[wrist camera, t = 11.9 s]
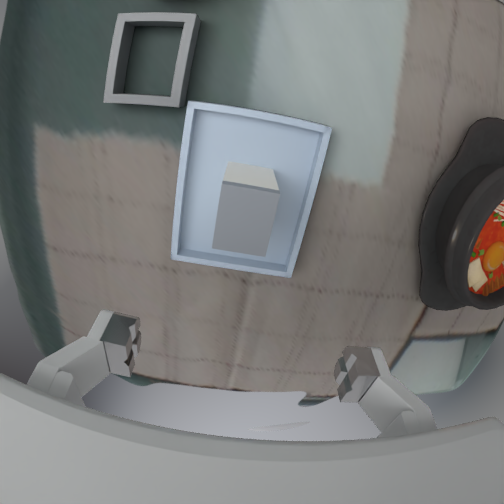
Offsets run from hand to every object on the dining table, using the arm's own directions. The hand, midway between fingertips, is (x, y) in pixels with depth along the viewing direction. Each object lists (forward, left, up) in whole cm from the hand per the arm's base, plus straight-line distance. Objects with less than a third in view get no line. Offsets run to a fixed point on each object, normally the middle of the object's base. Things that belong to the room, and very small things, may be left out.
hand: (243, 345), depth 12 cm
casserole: (-27, -3, -20) cm, 33 cm away
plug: (0, 0, -19) cm, 19 cm away
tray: (0, 0, -19) cm, 19 cm away
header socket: (+10, -11, -19) cm, 24 cm away
